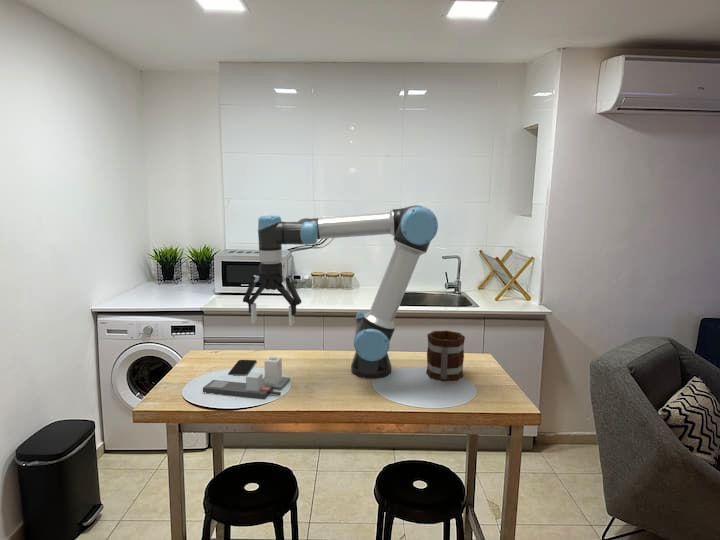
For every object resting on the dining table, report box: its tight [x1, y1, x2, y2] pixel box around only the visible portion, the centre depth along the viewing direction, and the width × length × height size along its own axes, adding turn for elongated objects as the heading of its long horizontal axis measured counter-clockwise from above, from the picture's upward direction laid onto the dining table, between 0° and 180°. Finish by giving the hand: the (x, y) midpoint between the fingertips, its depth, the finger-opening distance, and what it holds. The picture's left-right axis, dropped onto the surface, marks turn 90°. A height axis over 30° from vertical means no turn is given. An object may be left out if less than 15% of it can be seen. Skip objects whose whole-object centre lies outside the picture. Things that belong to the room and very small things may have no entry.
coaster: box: [262, 376, 291, 391], centre depth 174 cm, size 9×9×1 cm
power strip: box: [202, 379, 282, 400], centre depth 167 cm, size 26×7×2 cm, turn 78°
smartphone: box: [227, 359, 258, 377], centre depth 189 cm, size 7×1×15 cm
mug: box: [425, 330, 466, 383], centre depth 180 cm, size 20×14×15 cm
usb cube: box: [245, 371, 264, 391], centre depth 166 cm, size 4×4×4 cm
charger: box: [263, 356, 283, 384], centre depth 173 cm, size 4×4×8 cm
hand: (272, 323), depth 171 cm, fingers open, 13 cm apart
